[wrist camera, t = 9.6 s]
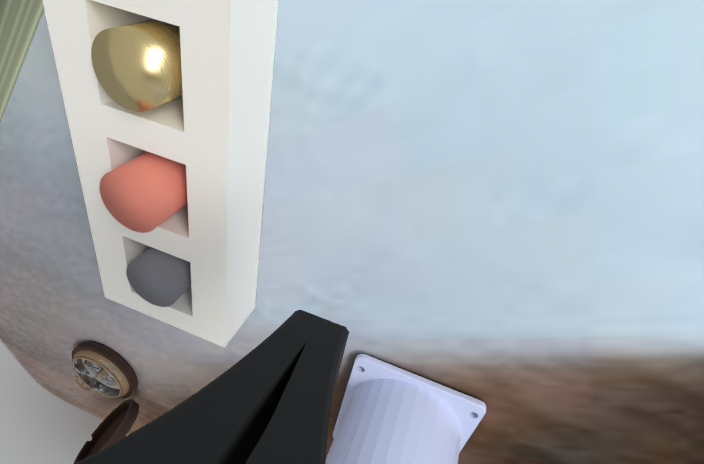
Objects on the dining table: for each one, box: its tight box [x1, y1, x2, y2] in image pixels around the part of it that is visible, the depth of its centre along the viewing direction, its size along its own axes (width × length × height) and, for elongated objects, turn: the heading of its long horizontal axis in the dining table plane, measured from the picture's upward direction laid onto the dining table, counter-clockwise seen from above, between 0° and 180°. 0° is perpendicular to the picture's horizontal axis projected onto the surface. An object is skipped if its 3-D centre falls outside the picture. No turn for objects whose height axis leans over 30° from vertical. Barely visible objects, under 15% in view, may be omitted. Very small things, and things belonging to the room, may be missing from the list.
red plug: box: [99, 151, 188, 233], centre depth 20 cm, size 3×3×4 cm
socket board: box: [43, 0, 279, 348], centre depth 21 cm, size 18×8×4 cm, turn 169°
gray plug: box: [126, 247, 191, 307], centre depth 24 cm, size 3×3×4 cm
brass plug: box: [91, 20, 183, 112], centre depth 18 cm, size 3×3×4 cm
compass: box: [72, 342, 139, 463], centre depth 36 cm, size 8×8×7 cm
